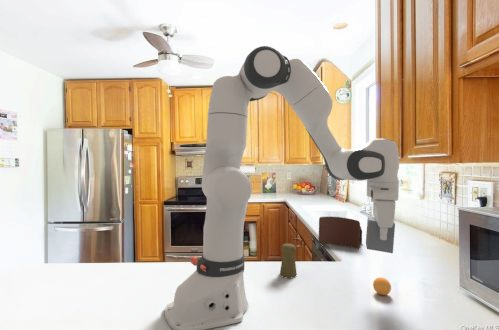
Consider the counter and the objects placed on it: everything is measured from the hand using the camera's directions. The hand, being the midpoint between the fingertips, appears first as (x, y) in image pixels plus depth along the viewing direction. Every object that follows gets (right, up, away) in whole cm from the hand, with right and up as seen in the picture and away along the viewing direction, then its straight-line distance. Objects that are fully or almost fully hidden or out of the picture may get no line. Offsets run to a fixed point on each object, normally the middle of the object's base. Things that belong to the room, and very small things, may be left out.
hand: (381, 236), depth 84 cm
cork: (-27, -18, +14) cm, 35 cm away
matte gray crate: (-1, -4, 0) cm, 4 cm away
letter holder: (+6, -18, +55) cm, 58 cm away
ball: (0, -16, 0) cm, 16 cm away
